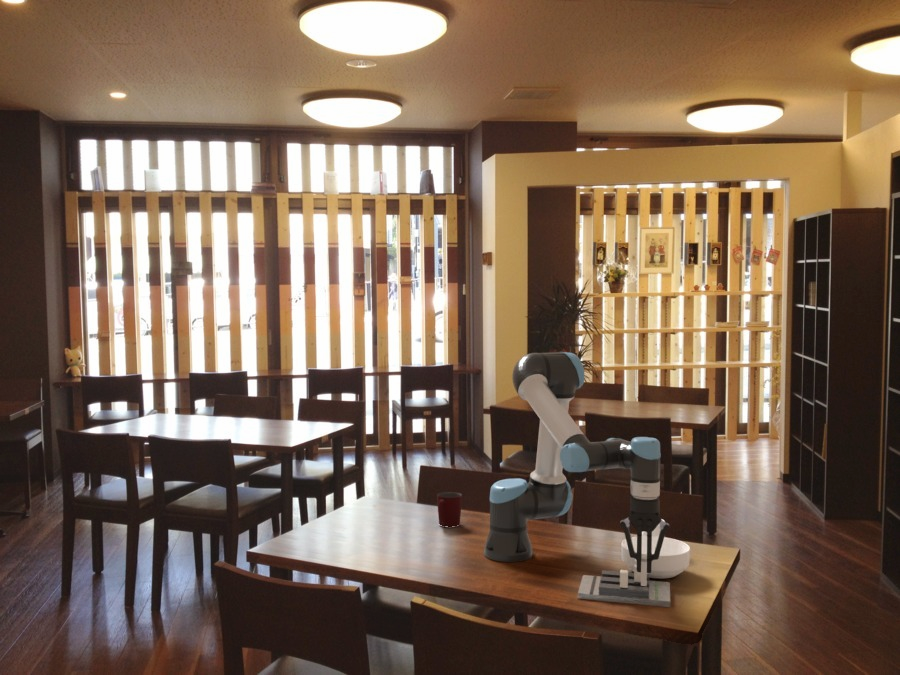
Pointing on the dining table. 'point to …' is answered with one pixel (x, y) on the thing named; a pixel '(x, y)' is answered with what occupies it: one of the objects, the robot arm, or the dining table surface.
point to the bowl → (660, 556)
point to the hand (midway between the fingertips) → (643, 584)
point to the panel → (625, 599)
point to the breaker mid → (636, 574)
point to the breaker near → (624, 578)
